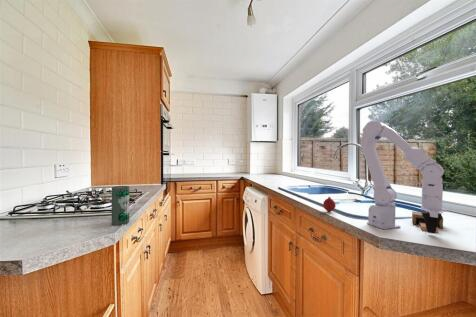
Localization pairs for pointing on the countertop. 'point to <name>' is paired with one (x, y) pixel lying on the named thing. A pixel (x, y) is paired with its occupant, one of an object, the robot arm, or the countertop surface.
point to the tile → (423, 227)
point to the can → (120, 205)
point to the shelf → (420, 219)
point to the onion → (329, 204)
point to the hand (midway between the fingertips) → (430, 232)
